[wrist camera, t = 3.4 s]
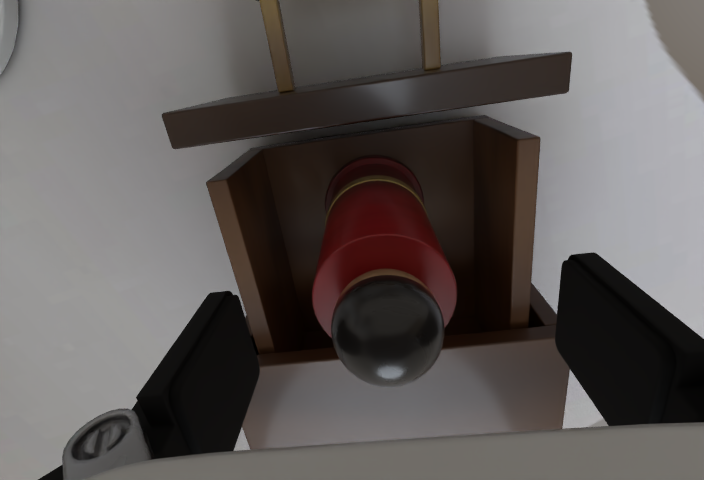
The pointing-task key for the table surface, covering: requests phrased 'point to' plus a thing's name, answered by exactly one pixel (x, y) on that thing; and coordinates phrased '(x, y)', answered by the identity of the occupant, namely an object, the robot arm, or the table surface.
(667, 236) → the table surface
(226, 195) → the drawer
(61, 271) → the table surface
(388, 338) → the red cylinder
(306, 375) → the cabinet
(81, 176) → the table surface
